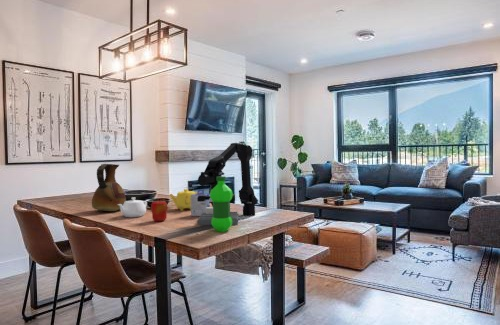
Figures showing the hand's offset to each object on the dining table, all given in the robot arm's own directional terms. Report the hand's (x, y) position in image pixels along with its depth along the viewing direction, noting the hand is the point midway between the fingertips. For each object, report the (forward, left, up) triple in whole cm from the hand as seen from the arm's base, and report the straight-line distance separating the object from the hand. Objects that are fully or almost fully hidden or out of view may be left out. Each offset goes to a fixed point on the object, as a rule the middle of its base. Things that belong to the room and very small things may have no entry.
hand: (216, 214), depth 180 cm
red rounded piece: (+31, -8, -5) cm, 33 cm away
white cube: (+4, -9, -2) cm, 10 cm away
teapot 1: (+50, -23, -5) cm, 56 cm away
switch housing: (-1, -4, -4) cm, 6 cm away
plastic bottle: (-4, +16, -5) cm, 17 cm away
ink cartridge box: (+11, -22, -5) cm, 25 cm away
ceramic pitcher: (+71, -42, -5) cm, 83 cm away
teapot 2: (+23, -43, -5) cm, 49 cm away
